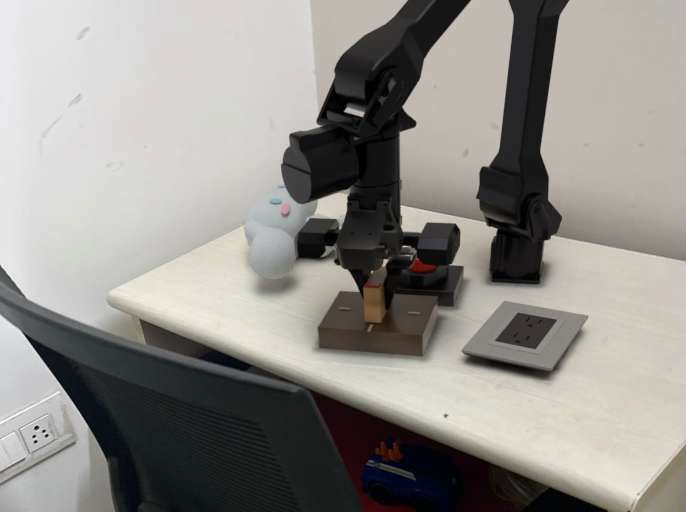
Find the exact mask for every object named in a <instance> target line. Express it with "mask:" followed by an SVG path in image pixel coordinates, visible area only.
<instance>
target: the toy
mask: <svg viewBox="0 0 686 512" xmlns="http://www.w3.org/2000/svg"><path fill="white" fill-rule="evenodd" d="M318 204H319V199H318V200H315V201H312V202H309V203H306V204H298V203H297V202H295V201H294V200H293V199H292V197H291V196H290V195H289V193H288V191H287V189H286V187H285V184H284V183H283V184H278V185H277V186H276V188H273V189H270V190H268V191H265V192H263V193H261V194H260V195H258V196H257V197H255V198H254V199H253V200H251V202H250V203H249V205H248V206H247V207H246V209H245V212H244V215H243V231H244V236H245V239H246V242H247V245H248V247H249V251H248V252H249V253H248V256H249V263H250V266H251V268H252V270H253V271H254V272H255V274H257V275H258V276H261V277H262V278H265V279H267V280H279V279H282V278H285V277H286V276H287V275H289V273H290V272H291V271H292V270H293V268H294V267H295V263H296V260H297V256H295V246H294V240H295V236H296V234H297V233H298V232H299V231H300V229H301V228H302V227H303V226H304V225H305V223H306V222H307V221H308V220H309V219H310V218H324V219H331V217H329V216H326V215H323V214H316V211H317V209H318ZM345 215H346V214H344V215H343V214H342V215H340V216H339V217H338V218H336V219H337V221H338V222H339V228H340V230H341V227H342V225H343V222H344V219H345ZM333 251H336V250H335V248H334V247H333V246H326V252H325V253H324V254H323V255H322V256H321V257H320V258H323V257H327V256H329V254H331V253H332V252H333Z"/></svg>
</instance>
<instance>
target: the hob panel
mask: <svg viewBox="0 0 686 512" xmlns="http://www.w3.org/2000/svg"><path fill="white" fill-rule="evenodd" d="M438 318H439V306H438V296H421V295H403V294H395V295H394V298H393V301H392V304H391V307H390V309H389V310H387V312H386V314H385V316H384V318H383V319H382V321H381V323H373V322H365V313H364V300H363V298H362V296H361V294H360V291H352V290H351V291H350V290H340V291H338V294H337V295H336V296H335V298H334V300H333V302H332V303H331V304H330V306H329V308H328V310H327V311H326V313H325V315H324V316H323V318H322V319H321V321H320V323H319V324H318V326H317V334H318V345H319V349H324V350H335V351H346V352H347V351H349V352H360V353H361V352H362V353H374V354H385V355H397V356H399V355H400V356H411V357H423V356H424V354H425V351H426V349H427V346H428V344H429V342H430V338H431V336H432V334H433V331H434V328H435V325H436V323H437V320H438Z"/></svg>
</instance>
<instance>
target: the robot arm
mask: <svg viewBox="0 0 686 512" xmlns="http://www.w3.org/2000/svg"><path fill="white" fill-rule="evenodd" d="M507 1H508V3H509V6H510V9H511V12H512V15H513V16H512V17H513V22H512V31H511V39H510V40H511V41H510V49H509V58H508V66H507V74H506V75H507V76H506V85H505V95H504V103H503V111H502V112H503V113H502V122H501V129H500V139H499V148H498V152H497V153H496V155H495V156H494V158H493V159H492V161H491V162H490V163H489V165H483V166H481V167H480V170H479V172H478V173H479V174H478V177H479V179H478V180H479V181H478V183H479V184H478V190H477V192H476V195H475V200H478V203H479V204H478V205H479V206H478V207H479V211H480V212H482V213H483V216H484V221H485V224H486V226H487V227H489V228H493V229H496V232H495V235H494V236H493V237H492V240H491V243H490V252H489V253H490V255H489V270H488V271H489V272H490V273H491V276H490V281H491V282H492V283H493V282H494V283H508V284H509V283H511V284H528V285H529V284H533V285H539V284H540V283H541V280H542V275H543V270H544V263H545V262H544V254H545V253H544V252H545V244H546V241H550V240H551V238H552V236H554V235H556V234H558V233H559V229H560V226H561V223H562V220H563V215H562V214H561V213H560V212H559V211H558V210H557V208H556V207H555V206H554V205H553V203H551V202H550V200H549V190H550V187H549V186H550V176H549V173H548V170H547V168H546V165H545V162H544V159H543V156H542V153H541V148H542V141H543V134H544V127H545V119H546V113H547V107H548V100H549V99H548V98H549V92H550V85H551V78H552V71H553V63H554V56H555V50H556V44H557V43H556V42H557V35H558V30H559V29H558V28H559V23H560V22H559V21H560V18H561V14H562V13H563V12H564V10H565V8H566V7H567V5H568V4H569V2H570V0H507ZM471 2H472V0H406V1H405V3H404V4H403V5H402V6H401V8H400V9H399V10H398V11H397V13H395V15H394V16H393V17H392V18H391V19H390V20H388V21H387V22H386V23H384V24H382V25H381V26H379V27H377V28H375V29H373V30H371V31H370V32H367V33H366V34H363V36H362V37H360V38H359V39H358V40H357V41H356V42H355V43H354V44H352V45H351V46H350V47H349V48H348V49H346V50H345V52H343V53H342V55H341V56H340V57H339V59H337V61H336V63H335V66H334V69H333V73H334V77H333V80H332V83H331V85H330V87H329V90H328V91H327V94H326V97H325V99H324V101H323V104H322V106H321V107H320V110H319V113H318V115H317V117H316V120H315V123H316V125H317V126H318V127H315V128H312V129H308V130H297V131H293V132H291V133H289V135H288V141H289V146H288V147H287V148H286V149H285V150H284V152H283V155H282V161H281V162H282V163H280V171H281V177H282V181H283V185H284V184H285V187H286V189H287V191H288V193H289V195H290V196H291V197H292V199H293V200H294V201H295V202H297V203H298V204H306V203H309V202H312V201H315V200H318V201H319V200H321V199H323V198H324V199H325V198H327V197H329V196H332V195H336V194H339V193H341V192H344V191H347V190H349V191H348V192H349V193H348V195H347V196H346V199H347V200H346V212H345V214H344V215H345V219H344V222H343V225H342V227H341V230H340V228H339V222H338V221H337V219H338V218H330V219H324V218H310V219H309V220H308V221H307V222H306V223H305V225H304V226H303V227H302V228H301V229H300V231H299V232H298V233H297V234H296V236H295V240H294V246H295V256H296V258H298V259H309V260H310V259H311V260H319V259H320V258H322V257H321V256H322V255H323V254H324V253H325V252H326V246H333V247H334V248H335V250H334V251H335V258H334V260H333V263H334V264H335V266H338V267H339V266H340V268H342V269H344V270H347V271H348V272H349V274H350V275H351V277H352V279H353V281H354V283H355V284H356V287H357V290H358V292H360V294H361V296H362V298H363V300H364V292H363V287H364V286H365V284H366V282H367V281H368V279H369V277H370V276H371V274H372V272H373V271H376V270H378V269H380V268H381V267H383V265H384V260H387V262H386V263H385V265H384V267H386V271H387V279H386V292H385V307H386V310H389V309H390V307H391V304H392V301H393V298H394V295H395V292H396V289H397V286H398V283H399V280H400V277H401V274H402V272H403V269H410V268H411V267H412V266H413V264H414V262H415V260H416V258H418V259H419V260H420V261H421V262H422V263H423V264H424V265H441V266H447V265H453V263H454V261H455V258H456V256H457V253H458V251H459V249H460V247H461V235H462V234H461V229H460V228H459V226H458V225H457V223H455V222H452V223H451V222H429V221H427V222H426V223H425V224H424V227H423V228H422V229H421V232H419V231H407V230H406V231H405V230H404V231H403V227H402V225H403V215H402V204H401V203H402V202H401V201H402V200H401V199H402V197H401V194H402V193H401V192H402V190H403V179H401V133H402V132H406V131H409V130H411V129H414V128H416V127H417V124H418V123H417V121H416V119H414V118H413V117H412V116H411V115H409V114H408V113H407V112H406V110H405V108H404V106H405V104H406V102H408V99H409V98H410V97H411V94H412V93H413V92H414V90H415V88H416V87H417V86H418V83H419V82H420V81H421V80H420V79H421V77H422V73H423V66H424V63H425V59H426V58H427V56H428V54H429V53H430V51H431V50H432V49H433V47H434V46H435V45H436V43H438V41H439V40H440V39H441V38H442V37H443V35H444V33H446V32H447V30H448V29H449V28H450V27H451V26H452V24H454V22H455V21H456V19H457V18H458V17H459V16H460V15H461V13H462V12H463V11H464V10H465V9H466V7H467V6H468V5H469V4H470V3H471ZM347 109H351V110H354V111H357V112H361V113H364V114H363V115H362V116H361V115H357V114H354V113H350V112H347V111H346V110H347Z"/></svg>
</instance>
